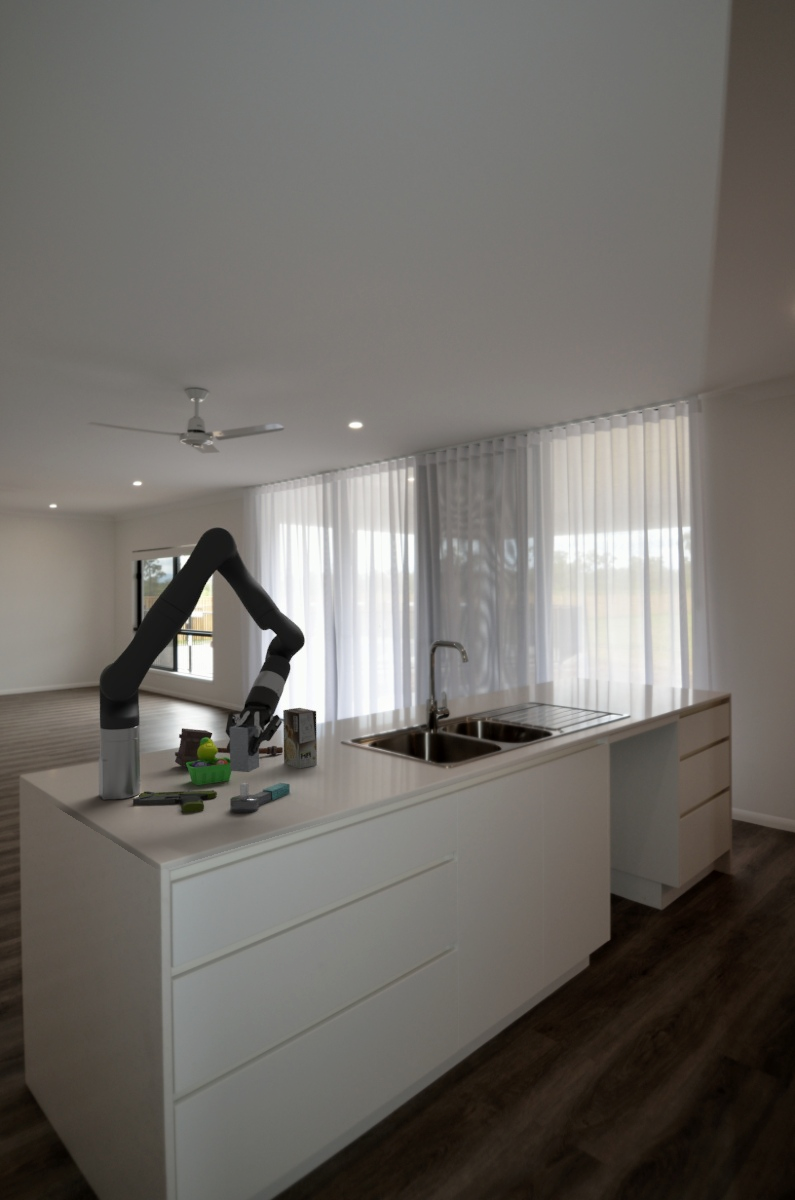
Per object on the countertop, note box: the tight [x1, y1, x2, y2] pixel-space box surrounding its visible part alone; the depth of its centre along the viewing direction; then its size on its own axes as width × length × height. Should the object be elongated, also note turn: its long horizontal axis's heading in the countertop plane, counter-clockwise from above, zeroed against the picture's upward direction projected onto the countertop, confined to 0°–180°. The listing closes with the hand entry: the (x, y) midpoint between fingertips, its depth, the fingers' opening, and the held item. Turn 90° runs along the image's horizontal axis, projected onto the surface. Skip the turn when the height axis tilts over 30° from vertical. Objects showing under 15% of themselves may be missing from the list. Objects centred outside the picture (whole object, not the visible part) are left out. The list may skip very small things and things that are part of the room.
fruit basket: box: [186, 738, 232, 786], centre depth 186 cm, size 11×9×11 cm
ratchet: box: [229, 782, 291, 815], centre depth 165 cm, size 19×6×6 cm, turn 152°
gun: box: [132, 789, 218, 814], centre depth 165 cm, size 2×19×15 cm
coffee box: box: [282, 707, 318, 769], centre depth 203 cm, size 9×6×16 cm
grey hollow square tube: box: [229, 724, 260, 773], centre depth 160 cm, size 5×5×10 cm
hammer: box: [174, 727, 284, 767], centre depth 208 cm, size 7×33×10 cm, turn 124°
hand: (240, 753), depth 158 cm, fingers closed on grey hollow square tube, 4 cm apart
